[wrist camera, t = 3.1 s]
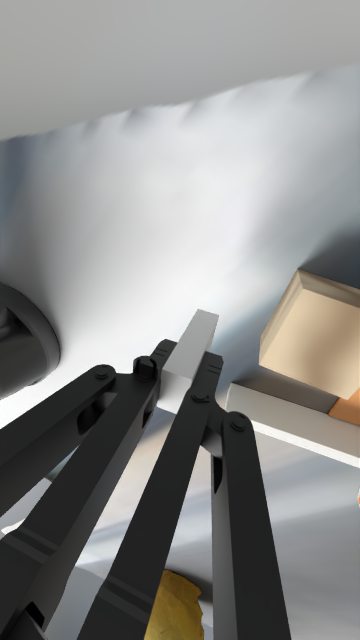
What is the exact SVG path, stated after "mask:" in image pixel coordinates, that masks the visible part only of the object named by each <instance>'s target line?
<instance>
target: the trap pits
mask: <svg viewBox="0 0 360 640" xmlns="http://www.w3.org/2000/svg"><path fill="white" fill-rule="evenodd" d="M328 414H329V416H332V417H335V418H338V419H341V420H344V421H347V422H350V423H353V424H356V425H359V426H360V387H359V388H358V390H357V391H356V392H355V393H354V394H353V395H352V396H351V397H350V398H349V399H348V400H346V399H343V398H341V397H339V399H338V400H337V402H336V403H335V404H334V406H333V407H332V409H331V410H330V411H329V413H328Z"/></svg>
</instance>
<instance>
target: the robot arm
mask: <svg viewBox="0 0 360 640" xmlns="http://www.w3.org/2000/svg"><path fill="white" fill-rule="evenodd" d="M218 317H219V315H217V314H213V313H210V312H206V311H203V310H199V309H198V310H197V312H196V313H195V315H194V317H193V318H192V320H191V322H190V323H189V325H188V327H187V328H186V330H185V332H184V333H183V335H182V337H181V338H180V340H179V342H178V343H177V342H174V341H171V340H168V339H165V340H163V341H161V342H160V343H159V344H158V346H157V347H156V349H155V350H154V351H153V353H152V354H151V355H150V356H140V357H137V358H136V359H135V360H134V362H133V373H131V374H122V373H116V371H115V369H114V368H113V367H112V366H110V365H105V364H102V365H97V366H95V367H93V368H91V369H90V370H88V371H87V372H85V373H84V374H82V375H81V376H79V377H78V378H76V379H75V380H73V381H72V382H70V383H69V384H67V385H66V386H64V387H63V388H61V389H60V390H58V391H57V392H55V393H54V394H52V395H51V396H49V397H48V398H46V399H45V400H43V401H42V402H40V403H39V404H37V405H36V406H34V407H33V408H31V409H30V410H28V411H27V412H25V413H24V414H22V415H21V416H19V417H18V418H16V419H15V420H13V421H12V422H10V423H9V424H7V425H6V426H4V427H3V428H2V429H0V517H1V516H2V515H4V513H6V511H8V510H9V509H10V508H11V507H12V506H13V505H14V504H15V503H16V502H18V501H19V500H20V499H21V498H22V497H23V496H24V495H25V494H26V493H27V492H28V491H30V490H31V489H32V488H33V487H34V486H35V485H36V484H37V483H38V482H39V481H41V480H42V479H43V478H44V477H45V476H46V475H47V474H48V473H49V472H50V471H51V470H53V469H54V468H55V467H56V466H57V465H58V464H59V463H60V462H61V461H62V460H63V459H65V458H66V457H67V456H68V455H69V454H70V453H71V452H72V451H73V450H74V449H75V448H76V447H78V446H79V447H78V448H77V449H76V451H75V452H74V454H73V455H72V456H71V458H70V459H69V460H68V462H67V463H66V464H65V466H64V467H63V469H62V470H61V471H60V473H59V474H58V475H57V477H56V478H55V479H54V481H53V482H52V484H51V485H50V486H49V488H48V489H47V490H46V492H45V493H44V495H43V496H42V497H41V499H40V500H39V501H38V503H37V504H36V505H35V507H34V508H33V510H32V511H31V512H30V513H29V515H28V516H27V518H26V519H25V520H24V522H23V523H22V524H21V525H20V526H19V527H18V528H17V529H15V530H13V531H11V532H9V533H7V534H6V535H5V536H4V537H3V538H2V539H1V540H0V640H48V639H47V638H46V636H45V634H44V632H45V630H46V628H47V626H48V624H49V622H50V620H51V618H52V616H53V614H54V612H55V610H56V608H57V606H58V604H59V602H60V600H61V598H62V595H63V593H64V590H65V587H66V583H67V580H68V578H69V576H70V574H71V571H72V569H73V567H74V566H75V564H76V562H77V560H78V558H79V556H80V554H81V552H82V550H83V548H84V546H85V544H86V543H87V541H88V539H89V537H90V535H91V533H92V531H93V529H94V527H95V525H96V523H97V521H98V519H99V517H100V516H101V514H102V512H103V510H104V508H105V506H106V504H107V502H108V500H109V498H110V496H111V494H112V492H113V491H114V489H115V487H116V485H117V483H118V481H119V479H120V477H121V475H122V473H123V471H124V469H125V467H126V465H127V464H128V462H129V460H130V458H131V456H132V454H133V452H134V450H135V448H136V446H137V444H138V442H139V440H140V439H141V437H142V435H143V433H144V431H145V429H146V427H147V425H148V423H149V421H150V419H151V417H152V415H153V412H154V407H155V405H156V403H157V407H159V408H162V409H164V410H167V411H170V412H172V413H175V414H177V415H176V417H175V419H174V422H173V424H172V426H171V429H170V431H169V433H168V436H167V438H166V440H165V443H164V445H163V447H162V450H161V452H160V454H159V457H158V459H157V461H156V464H155V466H154V468H153V471H152V473H151V475H150V478H149V480H148V482H147V485H146V487H145V489H144V492H143V494H142V496H141V499H140V501H139V504H138V506H137V508H136V511H135V513H134V515H133V518H132V520H131V522H130V525H129V527H128V529H127V532H126V534H125V536H124V539H123V541H122V543H121V546H120V548H119V550H118V553H117V555H116V557H115V560H114V562H113V564H112V567H111V569H110V571H109V573H108V575H107V577H106V579H105V581H104V582H103V584H102V585H101V587H100V589H99V591H98V593H97V595H96V597H95V599H94V602H93V604H92V606H91V608H90V610H89V612H88V615H87V617H86V619H85V622H84V624H83V626H82V629H81V631H80V633H79V635H78V638H77V640H144V637H145V634H146V631H147V627H148V623H149V620H150V616H151V613H152V609H153V605H154V602H155V598H156V595H157V591H158V588H159V584H160V581H161V577H162V574H163V571H164V567H165V564H166V560H167V557H168V553H169V550H170V546H171V543H172V540H173V536H174V533H175V529H176V526H177V522H178V519H179V515H180V512H181V509H182V505H183V502H184V498H185V495H186V491H187V488H188V484H189V481H190V478H191V474H192V471H193V467H194V464H195V460H196V457H197V453H198V450H199V447H200V445H201V446H202V447H204V448H205V449H206V450H207V451H208V452H210V453H211V499H212V565H213V631H214V640H291V635H290V629H289V624H288V618H287V612H286V607H285V601H284V596H283V590H282V585H281V579H280V574H279V568H278V562H277V557H276V551H275V546H274V540H273V535H272V529H271V523H270V518H269V512H268V507H267V501H266V496H265V490H264V484H263V479H262V473H261V468H260V462H259V457H258V451H257V446H256V440H255V434H254V429H253V425H252V422H251V420H250V419H249V418H248V417H247V416H246V415H244V414H243V413H240V412H237V411H231V412H226V411H225V410H224V409H222V408H221V407H220V406H219V405H218V404H217V402H216V400H215V391H216V387H217V384H218V380H219V377H220V373H221V370H222V366H223V359H222V356H219V355H216V354H213V353H210V352H209V350H210V347H211V344H212V340H213V336H214V332H215V329H216V325H217V321H218ZM59 357H60V352H59V345H58V342H57V339H56V336H55V334H54V332H53V330H52V328H51V326H50V324H49V323H48V321H47V320H46V318H45V317H44V316H43V315H42V313H41V312H40V311H39V310H38V309H37V308H36V307H35V306H34V305H33V304H32V303H31V302H30V301H29V300H28V299H27V298H26V297H24V296H23V295H22V294H20V293H19V292H17V291H16V290H14V289H12V288H10V287H8V286H6V285H4V284H1V283H0V400H1V399H3V398H5V397H8V396H10V395H12V394H14V393H16V392H17V391H19V390H21V389H23V388H24V387H26V386H31V385H34V384H36V383H39V382H40V381H42V380H43V379H44V378H46V377H47V376H48V375H49V374H50V373H51V372H52V371H54V370H55V368H56V367H57V365H58V362H59ZM157 401H158V402H157Z"/></svg>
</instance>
